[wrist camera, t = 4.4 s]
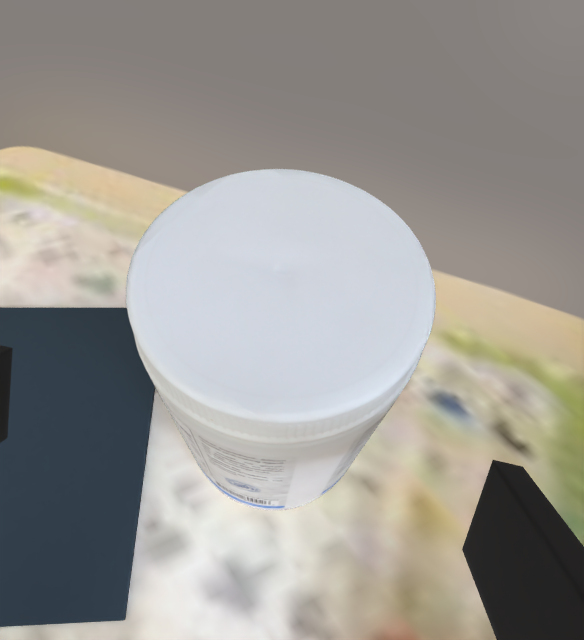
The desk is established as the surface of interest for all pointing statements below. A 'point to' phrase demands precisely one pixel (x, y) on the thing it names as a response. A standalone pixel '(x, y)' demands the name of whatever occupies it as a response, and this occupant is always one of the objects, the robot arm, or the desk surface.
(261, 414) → the supplement tub
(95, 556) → the mat
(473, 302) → the desk surface
